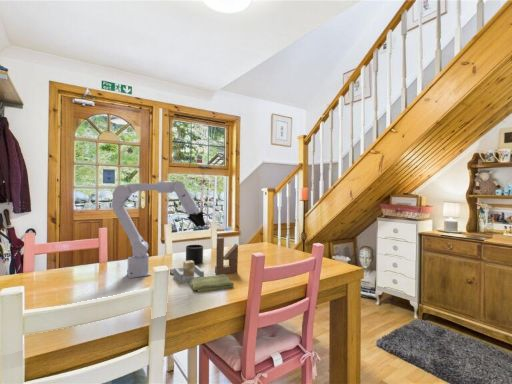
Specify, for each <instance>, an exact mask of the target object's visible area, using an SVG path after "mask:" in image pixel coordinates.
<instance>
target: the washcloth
mask: <svg viewBox="0 0 512 384" xmlns="http://www.w3.org/2000/svg"><path fill="white" fill-rule="evenodd" d="M189 284H190V286H191V288H192V289H193V291H197V293H203V292H210V291H219V290H224V289H229V288H230V289H231V288H233V287H234V285H235V284H234V281H232V280H231V279H230V278H229V277H228V276H227V274H220V275H217V274H216V275H214V274H213V275H208V276H204V277H200V278H194V279H192V280H190V282H189Z"/></svg>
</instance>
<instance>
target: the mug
mask: <svg viewBox="0 0 512 384" xmlns="http://www.w3.org/2000/svg"><path fill="white" fill-rule="evenodd" d="M189 260H192V261H193V262H194V265H200V264H202V263H203V262H204V245H201V244H189V245H186V247H185V261H189Z"/></svg>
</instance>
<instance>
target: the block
mask: <svg viewBox="0 0 512 384" xmlns="http://www.w3.org/2000/svg"><path fill="white" fill-rule="evenodd" d="M194 266H195V264H194V262H193V261H192V260H189V261H186V260H183V267H182V268H183V274H184V275H185V276H191V275H194Z"/></svg>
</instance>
